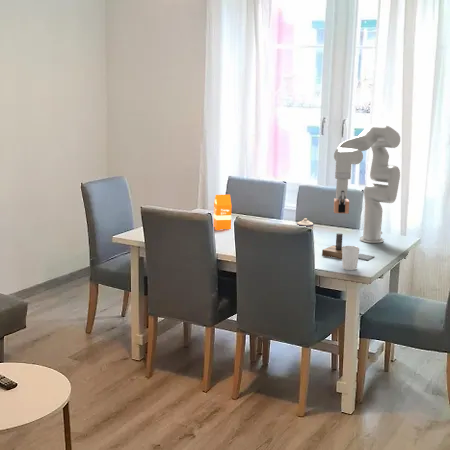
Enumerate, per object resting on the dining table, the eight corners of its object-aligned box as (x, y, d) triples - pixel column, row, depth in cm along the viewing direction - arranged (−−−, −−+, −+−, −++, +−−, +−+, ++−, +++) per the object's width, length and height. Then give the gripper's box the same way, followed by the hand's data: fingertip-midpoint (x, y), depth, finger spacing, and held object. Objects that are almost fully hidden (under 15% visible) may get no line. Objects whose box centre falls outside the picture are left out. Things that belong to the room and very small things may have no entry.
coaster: (359, 254, 352) (359, 253, 352) (374, 257, 347) (374, 256, 347) (352, 257, 346) (352, 256, 346) (367, 260, 341) (367, 259, 341)
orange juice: (213, 227, 406) (213, 193, 402) (227, 226, 408) (228, 193, 404) (216, 230, 399) (216, 196, 394) (231, 229, 401) (232, 195, 397)
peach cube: (347, 210, 349) (348, 197, 347) (348, 213, 342) (349, 199, 340) (333, 210, 349) (334, 196, 348) (334, 213, 342) (335, 199, 341)
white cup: (339, 266, 331) (340, 245, 329) (355, 265, 332) (356, 245, 329) (343, 270, 323) (344, 250, 321) (359, 270, 324) (361, 249, 322)
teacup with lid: (307, 242, 376) (308, 221, 373) (293, 239, 381) (294, 218, 378) (318, 238, 385) (319, 217, 383) (304, 235, 390) (305, 215, 388)
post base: (333, 250, 358) (334, 230, 356) (354, 254, 352) (355, 233, 349) (322, 255, 349) (323, 234, 346) (343, 259, 342) (345, 238, 340)
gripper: (334, 172, 350) (332, 207, 354) (336, 178, 333) (334, 214, 337) (349, 173, 349) (347, 207, 353) (352, 178, 333) (349, 214, 337)
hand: (341, 210), depth 345 cm, fingers closed on peach cube, 7 cm apart
